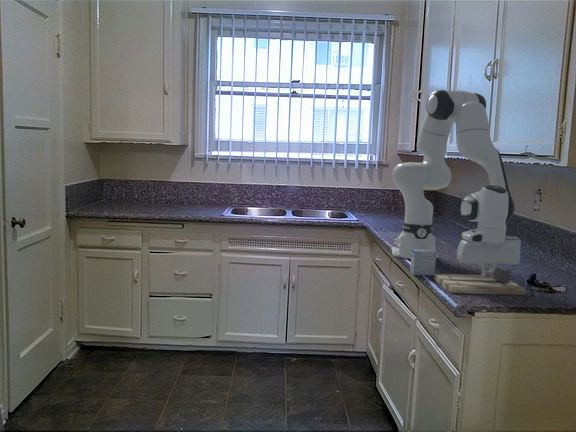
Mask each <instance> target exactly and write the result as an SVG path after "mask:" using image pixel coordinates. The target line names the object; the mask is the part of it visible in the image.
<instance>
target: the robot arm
mask: <svg viewBox="0 0 576 432" xmlns="http://www.w3.org/2000/svg"><path fill="white" fill-rule="evenodd" d="M425 108H426V113H425V116H424V118H423V121H422V125H421V128H420V131H419V134H418V138H417V142H416V148H417V150H418V152H419V153H420V154H422V155H423V161H422V162H414V161H413V162H411V161H409V162H408V161H407V162H402V163H397V164H396V165H395V166H394V168H393V171H392V173H391V179H392V182H393V184H394V186H395V187H396V188H397V189H399V191H400V192H401V194H402V196H403V201H404V221H403V223H402V231H401V232H400V234H399V235H398V237H397V238H394V239H393V240H394V242H393V244H394V245H396V246H391V252H392V253H391V254H392V256H393V257H398V258H403V259H408V260H411V253H412V249H420V250H433V251H435V252H436V237H435V236H434V235H433V230H434V224H433V214H434V205H433V204H432V203H433V202H431V201H430V200H428V199H427V198H426V197H425V193H424V190H426V191H427V190H429V191H430V190H431V191H433V190H434V191H435V190H436V191H437V190H441V189H444V188H447V187H448V186H449V185H450V184H451V181H452V171H451V169H450V167H449V166H448V165H447V163H446V159H445V153H446V147H447V144H448V139H449V137H450V133H451V130H452V126H453V124H454V125H455V141H456V147H457V150H458V153H460V154H461V156H463V157H464V158H465V159H467V160H469V161H471V162H475V163H476V164H478V165H479V166H481V167H483V169H484V170H485V172H486V173H487V176H488V181H489V185H485V186H483V187H482V188H481V189H480V190H478V191H475V192H471V193H468V194H465V195H464V196H463V197H462V199H461V201H460V203H459V213H460V215H461V216H462V218H463V219H464V220H465V221H469V222H477V226H476V227H477V228H473V229H470V230H466V231H463V232H462V233H461V238H462V239H461V240H460V241H459V243H458V246H457V253H456V259H457V261H458V262H459V263H461V264H478V266H479V269H480V270H481V274H480V275H481V276H482V277H492V276H493V272H495V269H496V267H498V265H511V266H512V265H514V266H517V265H519V263H521V246H522V240H521V239H520V238H519V237H518V236H509V235H507V225H506V224H507V223H506V222H509V220H510V219H511V218H512V217H513V216H514V214H515V210H516V207H515V203H514V200H513V197H512V195H511V192H510V189H509V184H508V179H507V175H506V171H505V166H504V162H503V158H502V155H501V152H500V151H499V150H498V149H497V148H496V147H495V145H494V144H493V141H492V138H491V134H490V125H489V124H490V123H489V118H488V115H487V114H488V113H487V110H486V109H487V101H486V98H485V97H484V96H483V95H482V94H480V93H478V92H469V91H466V90H444V89H440V90H434V91H432V92H431V93H430V94H429V96H428V98H427V100H426V106H425ZM438 258H439V254H437V255H436V259H438ZM486 265H489V269H488V270H486V269H485V268H486V267H487V266H486Z"/></svg>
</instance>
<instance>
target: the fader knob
mask: <svg viewBox="0 0 576 432" xmlns="http://www.w3.org/2000/svg"><path fill="white" fill-rule="evenodd" d="M511 271H512V270H511V269H509V268H507V267H505V266H497V267H496V269H495V270H494V275H493V276H494V278H495V279H496V280H498V281H500V282H510V280H511V275H512V274H511V273H512V272H511Z"/></svg>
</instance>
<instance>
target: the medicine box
mask: <svg viewBox="0 0 576 432" xmlns="http://www.w3.org/2000/svg"><path fill="white" fill-rule="evenodd" d="M436 255H438V253H437V252H436V250H435V251H433V250H420V249H412V253H411V259H410V268H409V272H410V273H411V275H412V276H430V277H431V276H433V277H434V274H436V263H437V258H436Z"/></svg>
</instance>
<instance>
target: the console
mask: <svg viewBox="0 0 576 432" xmlns="http://www.w3.org/2000/svg"><path fill="white" fill-rule="evenodd" d="M433 281H436V282H437V284H439V285H440V286H442V287H443V288H444V289H445V290H446V291H447V292H449V293H451V294H477V295H479V294H480V295H484V294H485V295H510V296H511V295H512V296H513V295H518V296H525V295H526V288H525V287H523V286H521V285H520V284H518V283H516V282H514V281H512V280H511V279H510V282H500V281H498V280H496V279H495V278H494V275H492V277H482V276H481V274H456V273H455V274H454V273H450V274H449V273H435V274H434V276H433Z"/></svg>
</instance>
